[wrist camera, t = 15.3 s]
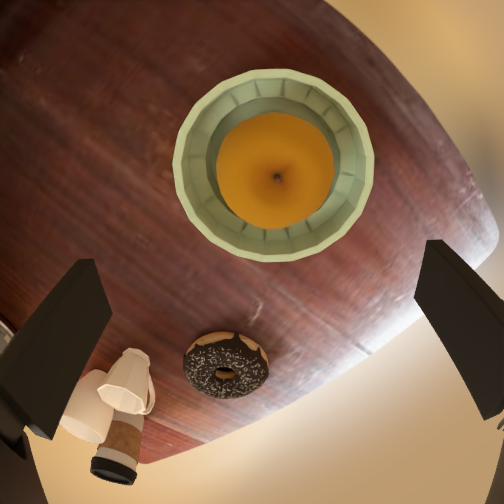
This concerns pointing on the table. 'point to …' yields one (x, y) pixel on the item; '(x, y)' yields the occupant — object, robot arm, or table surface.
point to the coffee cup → (119, 449)
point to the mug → (88, 410)
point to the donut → (225, 365)
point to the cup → (129, 384)
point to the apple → (274, 170)
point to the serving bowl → (257, 103)
